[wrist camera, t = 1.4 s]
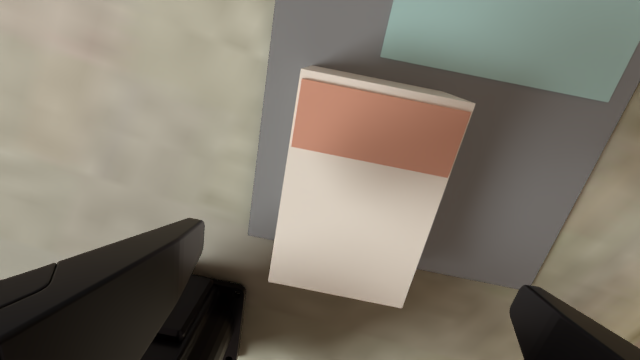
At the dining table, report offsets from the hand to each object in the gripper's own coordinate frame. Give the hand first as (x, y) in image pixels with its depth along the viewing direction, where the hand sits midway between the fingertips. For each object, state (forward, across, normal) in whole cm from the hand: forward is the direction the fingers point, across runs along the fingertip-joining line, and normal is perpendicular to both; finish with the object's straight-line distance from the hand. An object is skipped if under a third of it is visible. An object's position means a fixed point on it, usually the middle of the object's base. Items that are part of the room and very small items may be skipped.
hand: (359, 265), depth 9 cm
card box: (+8, 0, 0) cm, 8 cm away
